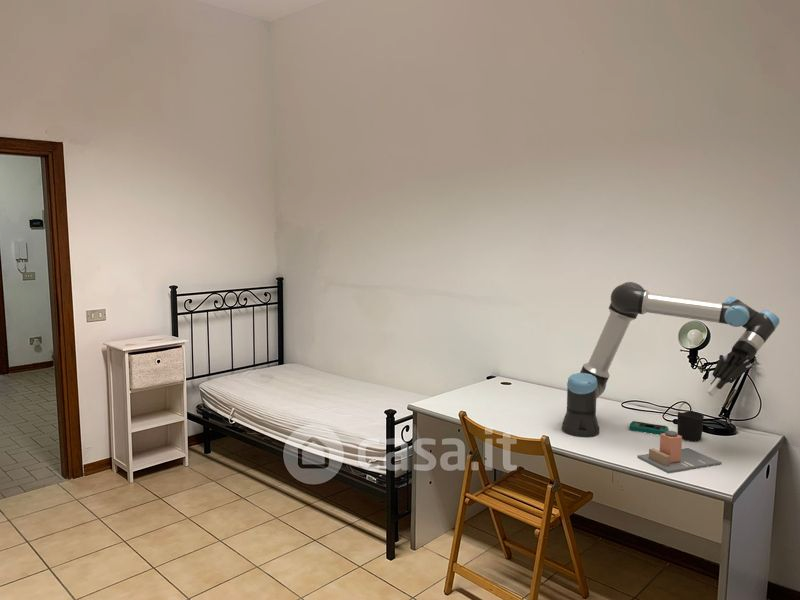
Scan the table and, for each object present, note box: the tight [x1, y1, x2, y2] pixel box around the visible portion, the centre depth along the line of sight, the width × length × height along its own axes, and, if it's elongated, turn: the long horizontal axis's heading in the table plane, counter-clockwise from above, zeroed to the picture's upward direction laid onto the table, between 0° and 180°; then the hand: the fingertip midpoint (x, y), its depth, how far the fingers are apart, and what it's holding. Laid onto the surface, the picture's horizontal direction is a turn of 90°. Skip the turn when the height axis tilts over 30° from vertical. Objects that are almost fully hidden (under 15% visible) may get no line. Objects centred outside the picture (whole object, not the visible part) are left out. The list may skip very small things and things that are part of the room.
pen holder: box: [676, 410, 705, 442], centre depth 234 cm, size 9×9×10 cm
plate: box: [636, 447, 722, 474], centre depth 210 cm, size 24×15×4 cm, turn 109°
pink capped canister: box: [659, 430, 683, 463], centre depth 209 cm, size 5×5×10 cm
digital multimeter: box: [629, 420, 670, 436], centre depth 243 cm, size 7×15×3 cm, turn 60°
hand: (710, 393), depth 212 cm, fingers closed
